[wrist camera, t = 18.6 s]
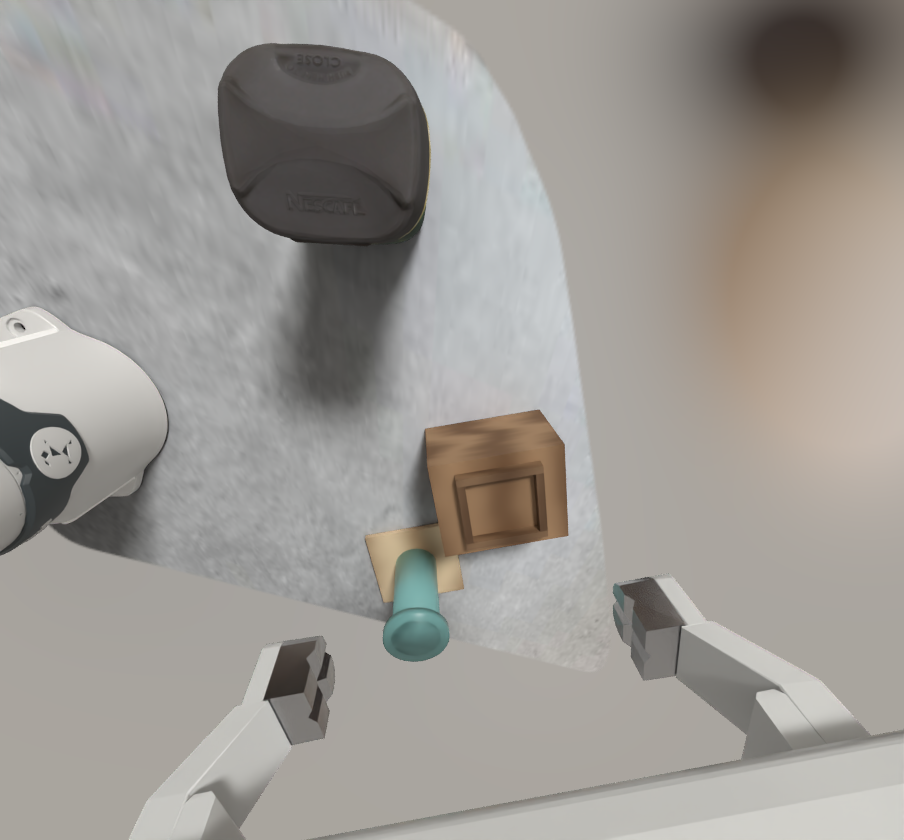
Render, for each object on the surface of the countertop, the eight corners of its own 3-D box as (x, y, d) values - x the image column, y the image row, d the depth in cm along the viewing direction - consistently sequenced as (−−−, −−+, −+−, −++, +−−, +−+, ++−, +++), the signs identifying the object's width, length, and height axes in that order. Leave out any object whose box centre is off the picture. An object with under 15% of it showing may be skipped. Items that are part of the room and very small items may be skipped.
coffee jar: (427, 139, 33) (440, 35, 16) (425, 246, 36) (433, 253, 19) (302, 129, 32) (178, 7, 15) (310, 240, 35) (214, 241, 18)
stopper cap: (389, 586, 50) (384, 663, 41) (387, 544, 48) (381, 615, 39) (442, 584, 51) (448, 659, 42) (443, 542, 48) (450, 612, 39)
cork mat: (384, 599, 52) (383, 602, 51) (365, 535, 48) (365, 538, 47) (463, 585, 52) (464, 589, 52) (451, 520, 48) (452, 523, 48)
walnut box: (440, 507, 47) (445, 564, 39) (425, 428, 43) (427, 473, 35) (544, 490, 47) (571, 542, 39) (539, 409, 43) (568, 449, 35)
